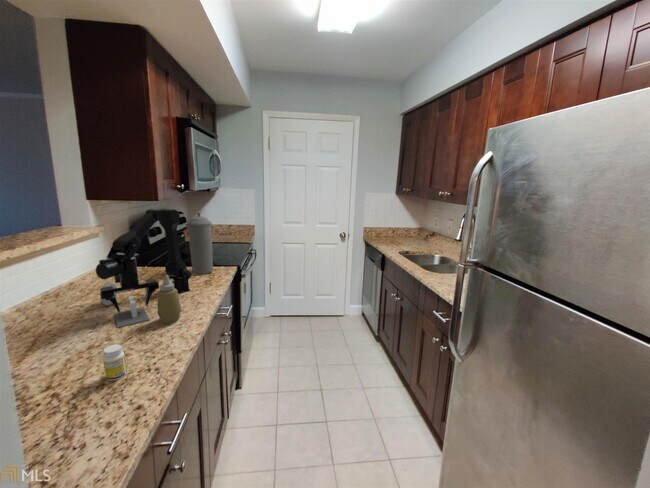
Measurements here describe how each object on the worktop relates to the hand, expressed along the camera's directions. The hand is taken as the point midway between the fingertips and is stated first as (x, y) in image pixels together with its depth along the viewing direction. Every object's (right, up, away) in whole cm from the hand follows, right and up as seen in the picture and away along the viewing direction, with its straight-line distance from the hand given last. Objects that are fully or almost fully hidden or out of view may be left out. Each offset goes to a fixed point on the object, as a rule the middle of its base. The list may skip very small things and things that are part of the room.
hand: (133, 308), depth 115 cm
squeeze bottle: (+16, -4, -3) cm, 17 cm away
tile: (0, -2, +1) cm, 2 cm away
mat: (0, -3, -2) cm, 3 cm away
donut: (-16, 0, +9) cm, 18 cm away
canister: (+5, +9, +55) cm, 56 cm away
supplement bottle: (+18, -11, -35) cm, 41 cm away
